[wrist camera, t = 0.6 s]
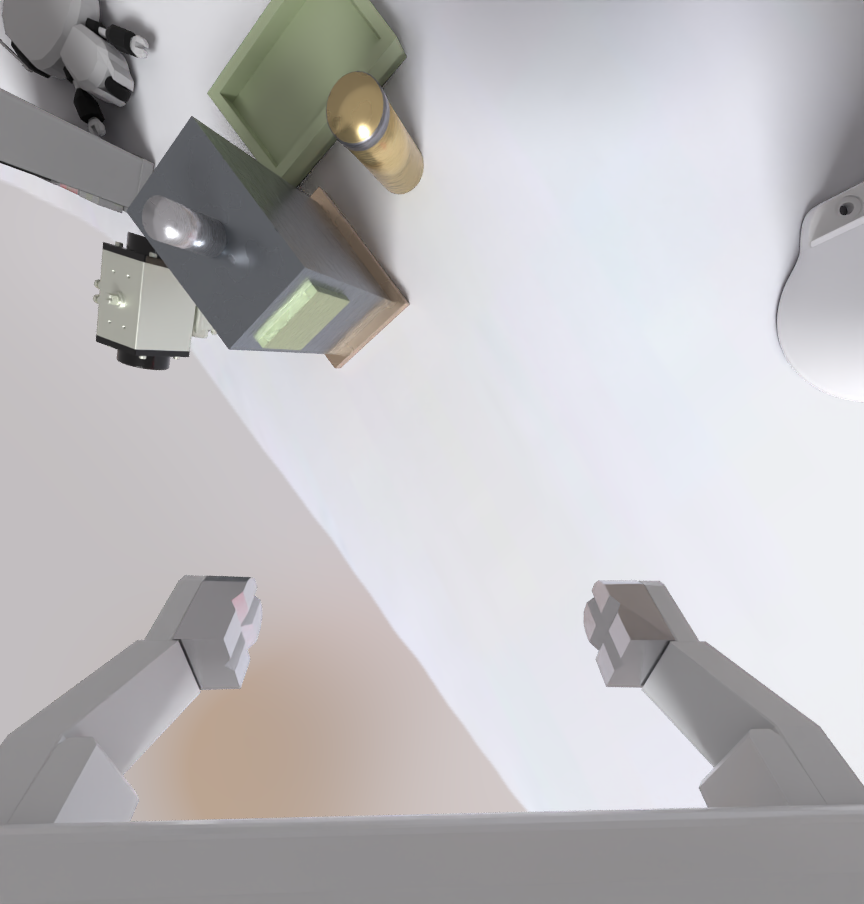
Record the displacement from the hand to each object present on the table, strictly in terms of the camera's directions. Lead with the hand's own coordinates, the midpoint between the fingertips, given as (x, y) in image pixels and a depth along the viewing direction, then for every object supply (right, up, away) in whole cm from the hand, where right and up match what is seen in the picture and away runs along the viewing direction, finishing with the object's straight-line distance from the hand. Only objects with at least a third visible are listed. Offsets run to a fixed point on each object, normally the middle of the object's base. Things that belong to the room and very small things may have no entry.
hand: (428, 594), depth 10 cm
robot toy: (-36, +46, +36) cm, 69 cm away
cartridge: (-3, +30, +30) cm, 42 cm away
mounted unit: (-10, +21, +34) cm, 41 cm away
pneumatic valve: (-25, +19, +39) cm, 50 cm away
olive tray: (-12, +39, +30) cm, 50 cm away
